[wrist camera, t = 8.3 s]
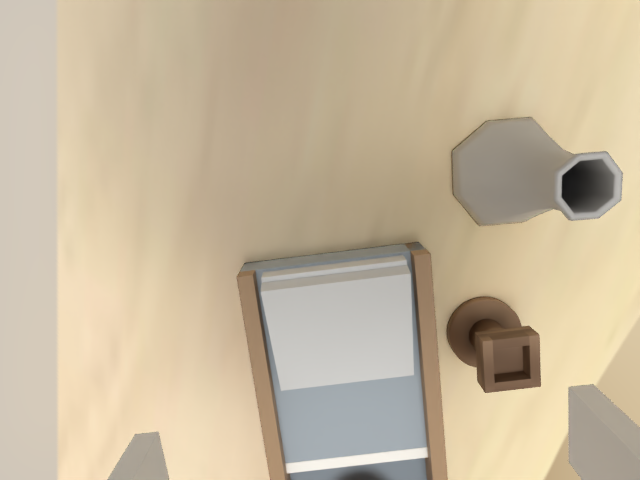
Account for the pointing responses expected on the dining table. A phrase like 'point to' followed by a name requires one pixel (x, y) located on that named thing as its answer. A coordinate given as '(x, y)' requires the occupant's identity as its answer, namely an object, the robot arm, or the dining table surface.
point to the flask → (530, 175)
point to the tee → (495, 345)
